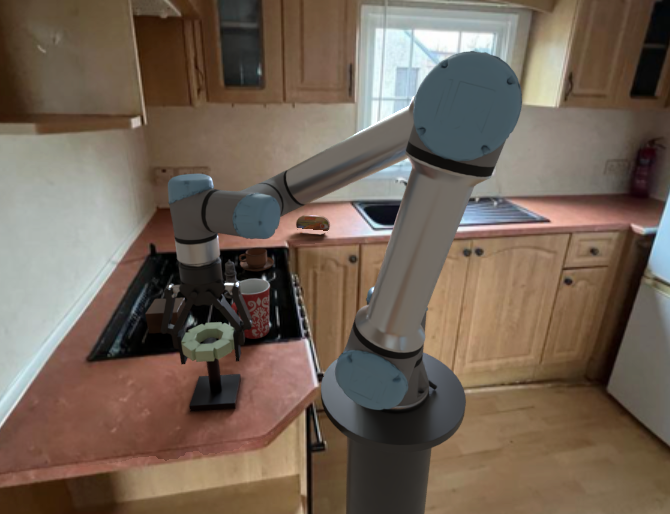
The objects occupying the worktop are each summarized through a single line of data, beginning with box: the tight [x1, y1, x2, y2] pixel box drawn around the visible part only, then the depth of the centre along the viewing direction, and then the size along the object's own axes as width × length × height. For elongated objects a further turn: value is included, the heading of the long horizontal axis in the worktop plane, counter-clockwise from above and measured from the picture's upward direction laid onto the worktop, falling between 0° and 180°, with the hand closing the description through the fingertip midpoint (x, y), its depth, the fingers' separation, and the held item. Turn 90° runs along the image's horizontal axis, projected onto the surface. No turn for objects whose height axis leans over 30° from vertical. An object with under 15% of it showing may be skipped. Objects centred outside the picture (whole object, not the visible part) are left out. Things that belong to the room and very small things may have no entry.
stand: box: [188, 337, 242, 413], centre depth 85 cm, size 9×9×14 cm
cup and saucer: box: [238, 247, 275, 272], centre depth 147 cm, size 12×12×6 cm
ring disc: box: [181, 321, 235, 363], centre depth 82 cm, size 10×10×2 cm
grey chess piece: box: [223, 259, 241, 299], centre depth 126 cm, size 6×6×12 cm
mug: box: [230, 278, 271, 340], centre depth 105 cm, size 13×9×14 cm
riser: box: [144, 297, 188, 334], centre depth 111 cm, size 8×8×6 cm
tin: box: [295, 214, 331, 232], centre depth 180 cm, size 15×3×8 cm, turn 76°
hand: (211, 358), depth 84 cm, fingers closed on ring disc, 10 cm apart
